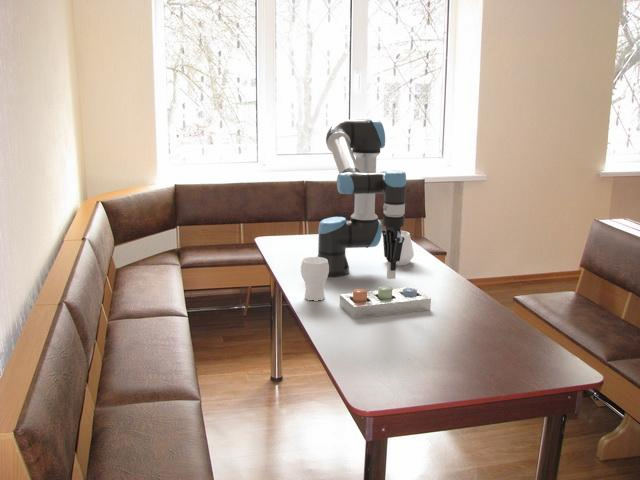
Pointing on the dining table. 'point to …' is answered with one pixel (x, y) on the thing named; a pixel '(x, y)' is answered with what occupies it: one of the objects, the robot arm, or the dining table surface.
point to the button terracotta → (359, 295)
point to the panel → (384, 304)
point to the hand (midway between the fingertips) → (391, 278)
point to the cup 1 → (314, 277)
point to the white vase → (405, 249)
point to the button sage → (385, 293)
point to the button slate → (409, 292)
